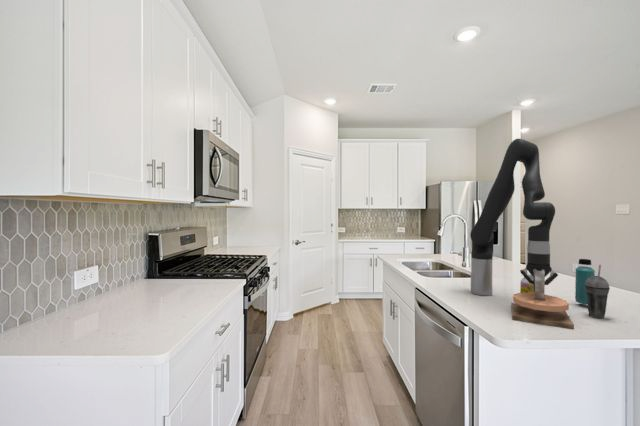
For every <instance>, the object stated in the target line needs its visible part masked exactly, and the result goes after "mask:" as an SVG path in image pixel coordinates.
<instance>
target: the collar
mask: <svg viewBox="0 0 640 426" xmlns="http://www.w3.org/2000/svg"><path fill="white" fill-rule="evenodd" d="M512 297H513V298H512V300H513V303H516V304H518V305H520V306H523V307H527V308H530V309H534V310H541V311H549V312H563V311H566V312H567V311H568V310H569V309H570V308H569V306H570V304H569V302H568V301H567V300H565V299H563V298H560V297H559V296H558V297H557V296H553V295H549V294H545V293H544V301H541V300H536V299H535V293H520V292H517V293H513V295H512Z"/></svg>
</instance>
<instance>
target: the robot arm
mask: <svg viewBox="0 0 640 426" xmlns="http://www.w3.org/2000/svg"><path fill="white" fill-rule="evenodd" d="M539 152H540V151H539V147H538V145H537V144H535V143H534V142H530V141H528V140H526V139H522V138H515V139H513V140H512V141H511V142H510V144H509V145H508V147H507V149H506V151H505V154H504V156H503V160H502V163H501V166H500V169H499V171H498V173H497V176H496V178H495V181H494V183H493V184H492V186H491V188H490V190H489V193H488V196H487V198H486V200H485V203H484V204H483V207H482V211H481V214H480V215H479V217H478V219H477V221H476V222H475V224H474V226H473V227H472V229H471V230H470V236H469V237H470V239H471V241H472V250H471V253H470V254H471V255H470V256H471V258H470V259H471V260H470V261H471V264H470V267H471V269H470V270H471V271H470V272H471V273H470V294H474V295H478V296H492V295H493V257H494V239H495V238H494V235H495V234H494V229H495V226H496V223H497V221H498V220H499V218H500V216H501V215H502V214H503V213H504V211H505V210H506V208H507V206H509V204H510V201H511V200H512V198H513V195H514V193H515V188H516V187H515V185H516V184H515V173H514V172H515V168H516V166H517V163H518V162H519V163H522V164H523V166H524V169H525V173H524V175H523V176H522V181H521V187H522V188H521V189H522V192H523V197H524V200H523V201H524V202H523V208H522V215H523V217H524V218H525V219H526V220H529V221H540V223H539V224H537V225H531V226H529V227H528V229H527V234H528V235H527V237H528V239H527V245H526V253H527V255H526V258H527V259H526V260H527V262H526V265H525V268H523V269H520V272H519V273H520V274H521V276H523V278H524V277H525V278H526V279H527V281H528V282H529V283H531V284H533V285H534V292H535V271H544V272H545V278H546V277H547V276H548V275H549V277H547V278H546V279H545V286H548V285H550V284H551V283H552V282H553V281H554V280H556V278H557V277H558V276H559V274H558V273H557V272H555V271H553V270H552V267H551V243H550V232H551V226H552V224H553V220H554V217H555V216H556V215H555V214H556V208H555V206H554V204H553V203H551V202H544V201H543V202H540V201H541V200H544V198H545V195H546V193H545V190H544V189H545V188H544V186H543V183H542V181H543V180H542V178H541V172H540V171H541V170H540V153H539ZM538 201H539V202H538ZM527 273H530V274H531V275H532V276H533V279H534V281H533V280H531V279H530V277H529V276H528V275H527Z"/></svg>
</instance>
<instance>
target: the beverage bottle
mask: <svg viewBox="0 0 640 426" xmlns="http://www.w3.org/2000/svg"><path fill="white" fill-rule="evenodd" d="M578 264H579V265H581V266H578V267H576V268H575V294H574V299H575V302H576V303H579V304H582V305H587V306H588V303H587V292H586V289H585V282H586V280H587V279H588V278H589V277H592V276H596V275H595V273H596V272H595V269H593V267H589V266H592V260H591V259H590V258H589V259H587V258H579V259H578ZM582 265H585V266H582Z"/></svg>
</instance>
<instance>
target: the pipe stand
mask: <svg viewBox="0 0 640 426" xmlns="http://www.w3.org/2000/svg"><path fill="white" fill-rule="evenodd" d="M545 278H546V277H545V272H544V271H535V299H536V300H541V301H544V294H545V287H546V285H545V280H546V279H545ZM510 306H511V308H512V309H511V317H512V320H513V321H517V320H520V321H519V322H524V321H525V322H526V323H530V322H531V323H532V324H537V325H545V326H551V327H556V328H557V327H558V328H564V329H569V330H574V329H575V324H574V323H573V321H572V319H571V318H570V315H568V312H567V310H566V311H563V312H549V311H541V310H534V309H530V308H527V307H523V306H520V305H518V304H516V303H514V302H511V304H510Z"/></svg>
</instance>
